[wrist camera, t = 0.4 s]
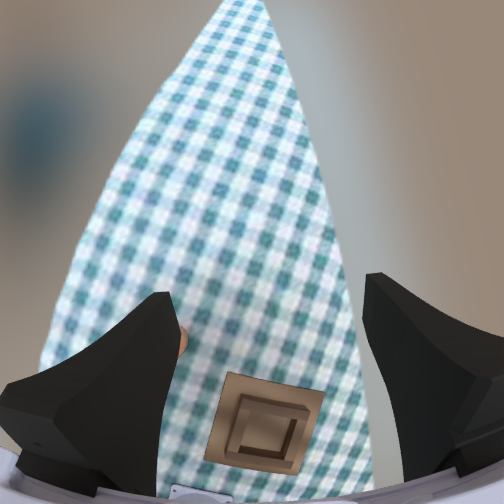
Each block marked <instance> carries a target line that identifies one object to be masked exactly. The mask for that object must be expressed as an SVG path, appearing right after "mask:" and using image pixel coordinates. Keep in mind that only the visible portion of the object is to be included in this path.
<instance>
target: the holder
mask: <svg viewBox="0 0 504 504" xmlns="http://www.w3.org/2000/svg"><path fill="white" fill-rule="evenodd" d="M324 395H325V392H322V391H316V390H311V389H305V388H300V387H295V386H289V385H284V384H280V383H275V382H270V381H265V380H261V379H257V378H252V377H248V376H244V375H239V374H235V373H231V372H228V373H227V376H226V380H225V384H224V387H223V391H222V395H221V398H220V402H219V406H218V409H217V413H216V416H215V420H214V424H213V427H212V431H211V434H210V438H209V442H208V445H207V449H206V452H205V456H204V460H205V461H210V462H214V463H219V464H224V465H229V466H234V467H239V468H245V469H251V470H257V471H263V472H271V473H278V474H286V475H296V476H297V475H298V472H299V470H300V467H301V464H302V461H303V459H304V456H305V453H306V450H307V447H308V445H309V442H310V439H311V436H312V433H313V430H314V427H315V424H316V421H317V418H318V414H319V411H320V408H321V405H322V402H323V398H324Z"/></svg>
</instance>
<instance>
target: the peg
mask: <svg viewBox="0 0 504 504" xmlns="http://www.w3.org/2000/svg"><path fill="white" fill-rule="evenodd" d="M179 327H180V330H181V334H182V335H181V342H180V349H179V356H180V355H181V354H182V352H183V351H184V350H185V349H186V347H187V345H188V341H189V339H188V334H187V332H186V330H185V329H184V328H183V327H181V326H179ZM179 356H178V357H179Z"/></svg>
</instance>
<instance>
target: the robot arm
mask: <svg viewBox="0 0 504 504" xmlns="http://www.w3.org/2000/svg"><path fill="white" fill-rule="evenodd" d="M363 306H364V307H363V316H362V320H363V324H364V328H365V332H366V335H367V339H368V342H369V345H370V347H371V350H372V352H373V355H374V357H375V360H376V362H377V365H378V367H379V369H380V372H381V375H382V377H383V379H384V382H385V384H386V387H387V390H388V394H389V397H390V400H391V405H392V409H393V413H394V417H395V422H396V427H397V432H398V438H399V444H400V450H401V457H402V465H403V475H404V483H401V484H397V485H393V486H389V487H385V488H380V489H376V490H371V491H366V492H361V493H355V494H350V495H344V496H337V497H330V498H323V499H310V500H299V501H287V502H268V503H232V502H233V497H232V496H228V495H223V494H218V493H213V492H208V491H203V490H199V489H194V488H190V487H186V486H182V485H178V484H173V485H172V487H171V491H170V495H169V499H163V498H156V474H157V457H158V446H159V437H160V429H161V422H162V415H163V410H164V406H165V402H166V398H167V395H168V391H169V388H170V384H171V381H172V377H173V374H174V370H175V367H176V363H177V360H178V356H179V349H180V342H181V335H182V334H181V330H180V327H179V324H178V320H177V317H176V314H175V310H174V307H173V304H172V300H171V297H170V293H169V292H154V293H153V294H151V295H150V296H149V297H147V298H146V299H145V300H144V301H143V302H142V303H141V304H139V305H138V306H137V307H136V308H135V309H134V310H133V311H132V312H130V313H129V314H128V315H127V316H126V317H125V318H124V319H123V320H121V321H120V322H119V323H118V324H117V325H115V326H114V327H113V328H112V329H110V330H109V331H108V332H107V333H106V334H104V335H103V336H102V337H101V338H99V339H98V340H97V341H95V342H94V343H92V344H91V345H89V346H88V347H86V348H85V349H84V350H82V351H80V352H79V353H77V354H75V355H74V356H72V357H70V358H68V359H67V360H65V361H63V362H61V363H60V364H58V365H56V366H53V367H51V368H49V369H47V370H45V371H43V372H40V373H38V374H36V375H33V376H30V377H27V378H24V379H21V380H18V381H15V382H12V383H9V384H7V386H6V388H5V389H4V391H3V392H2V394H1V395H0V426H1V427H2V428H3V429H4V431H5V432H6V433H7V434H8V435H9V436H10V437H11V438H12V439H13V440H14V441H15V442H16V443H17V444H18V445H19V446H20V447H21V448H22V452H21V454H20V456H19V455H18V454H16V453H15V452H13V451H11V450H9V449H6V448H4V447H1V446H0V504H504V337H500V336H496V335H493V334H490V333H487V332H485V331H482V330H479V329H477V328H474V327H472V326H469V325H467V324H465V323H462V322H460V321H458V320H456V319H454V318H452V317H450V316H448V315H446V314H445V313H443V312H441V311H439V310H438V309H436V308H434V307H433V306H431V305H429V304H428V303H426V302H425V301H423V300H422V299H420V298H419V297H417V296H415V295H414V294H413V293H411V292H410V291H408V290H407V289H405V288H404V287H403V286H401V285H400V284H398V283H397V282H396V281H394V280H393V279H391V278H390V277H388V276H387V275H385V274H383V273H382V272H380V273H372V274H366V282H365V295H364V305H363ZM173 489H175V490H176V491H174V490H173ZM227 501H230V502H227Z"/></svg>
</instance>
